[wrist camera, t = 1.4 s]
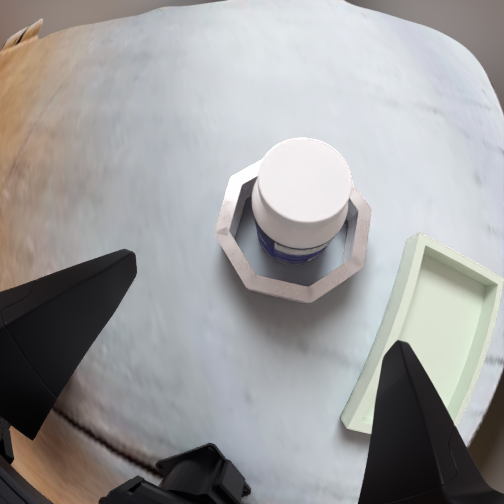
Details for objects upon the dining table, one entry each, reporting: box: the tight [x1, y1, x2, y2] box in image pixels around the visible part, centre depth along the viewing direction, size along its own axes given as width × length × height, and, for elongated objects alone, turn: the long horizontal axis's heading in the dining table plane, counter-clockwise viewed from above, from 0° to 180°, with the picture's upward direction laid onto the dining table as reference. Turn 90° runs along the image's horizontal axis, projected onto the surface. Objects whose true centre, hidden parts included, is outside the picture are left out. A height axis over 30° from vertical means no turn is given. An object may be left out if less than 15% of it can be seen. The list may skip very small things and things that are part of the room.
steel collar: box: [214, 160, 371, 304], centre depth 21 cm, size 11×11×3 cm
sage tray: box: [340, 232, 504, 434], centre depth 19 cm, size 16×11×2 cm
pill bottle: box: [252, 138, 352, 265], centre depth 18 cm, size 6×6×10 cm
